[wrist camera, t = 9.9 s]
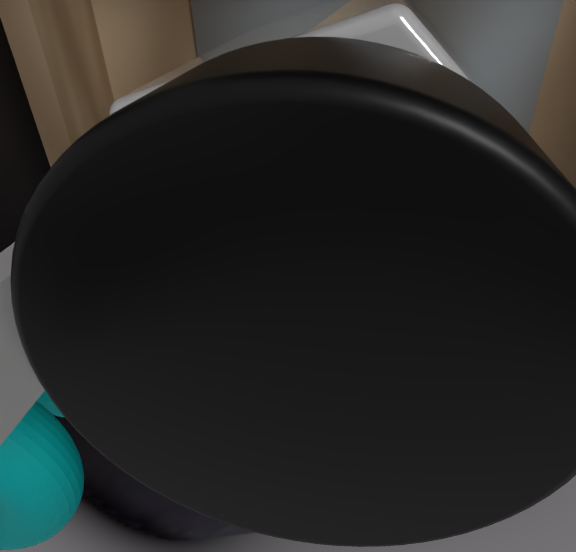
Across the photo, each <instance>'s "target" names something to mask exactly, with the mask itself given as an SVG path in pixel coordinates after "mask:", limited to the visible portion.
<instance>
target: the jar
mask: <svg viewBox="0 0 576 552" xmlns="http://www.w3.org/2000/svg"><path fill="white" fill-rule="evenodd" d="M10 281H11V300H12V307H13V313H14V319H15V324H16V327H17V331H18V334H19V337H20V341H21V344H22V346H23V349H24V351H25V354H26V356H27V358H28V361H29V363H30V365H31V367H32V369H33V371H34V373H35V375H36V376H37V378H38V380H39V382H40V384H41V385H42V387H43V388H44V390H45V391H46V393H47V394H48V396H49V397H50V399H51V400H52V402H53V403H54V404H55V405H56V407H57V408H58V409H59V411H60V412H61V413H62V415H63V416H64V417H65V418H66V419H67V420H68V421H69V422H70V424H71V425H72V426H73V427H74V428H75V429H76V430H77V431H78V432H79V433H80V434H81V435H82V436H83V437H84V438H85V439H86V440H87V441H88V442H89V443H90V444H91V445H92V446H93V447H94V448H95V449H96V450H98V451H99V452H100V453H101V454H102V455H103V456H105V457H106V458H107V459H108V460H109V461H111V462H112V463H113V464H115V465H116V466H117V467H119V468H120V469H121V470H123V471H124V472H125V473H127V474H128V475H130V476H131V477H133V478H134V479H136V480H137V481H139V482H140V483H142V484H143V485H145V486H147V487H148V488H150V489H152V490H154V491H155V492H157V493H159V494H160V495H162V496H164V497H166V498H168V499H170V500H172V501H174V502H176V503H178V504H180V505H182V506H184V507H186V508H189V509H191V510H193V511H195V512H197V513H200V514H202V515H205V516H208V517H210V518H213V519H215V520H218V521H221V522H224V523H227V524H230V525H232V526H235V527H239V528H242V529H246V530H249V531H253V532H256V533H260V534H265V535H269V536H273V537H278V538H283V539H288V540H294V541H300V542H307V543H314V544H324V545H336V546H357V547H361V546H362V547H364V546H391V545H392V546H393V545H405V544H413V543H422V542H428V541H433V540H438V539H444V538H448V537H452V536H456V535H460V534H464V533H468V532H471V531H474V530H477V529H480V528H483V527H486V526H489V525H492V524H494V523H496V522H499V521H502V520H504V519H507V518H509V517H511V516H513V515H515V514H517V513H519V512H522V511H524V510H526V509H528V508H530V507H531V506H533V505H535V504H536V503H538V502H540V501H541V500H543V499H545V498H546V497H548V496H550V495H551V494H552V493H554V492H555V491H556V490H558V489H559V488H560V487H562V486H563V485H565V484H566V483H567V482H568V481H570V480H571V479H572V478H573V477H574V476H575V475H576V188H575V187H574V186H573V185H572V184H571V182H570V181H569V180H568V179H567V178H566V177H565V176H564V174H563V173H562V172H561V171H560V170H559V169H558V167H557V166H556V165H555V164H554V163H553V162H552V160H551V159H550V158H549V157H548V156H547V155H546V154H545V152H544V151H543V150H542V149H541V148H540V147H539V145H538V144H537V143H536V142H535V141H534V140H533V138H532V137H531V136H530V135H529V134H528V133H527V132H526V130H525V129H524V128H523V127H522V126H521V125H520V123H519V122H518V121H517V120H516V119H515V118H514V117H513V116H512V115H511V114H510V113H509V112H508V111H507V110H506V109H505V108H504V107H503V106H502V105H501V104H500V103H499V102H497V101H496V100H495V99H494V98H492V97H491V96H490V95H489V94H487V93H486V92H485V91H484V90H483V89H482V88H481V86H480V85H479V84H478V83H477V82H476V80H475V79H474V78H473V77H472V76H471V74H470V73H469V72H468V71H467V70H466V68H465V67H464V66H463V65H462V64H461V63H460V61H459V60H458V59H457V58H456V57H455V55H454V54H453V53H452V52H451V51H450V49H449V48H448V47H447V46H446V45H445V44H444V42H443V41H442V40H441V39H440V38H439V36H438V35H437V34H436V33H435V32H434V30H433V29H432V28H431V27H430V26H429V24H428V23H427V22H426V21H425V20H424V19H423V17H422V16H421V15H420V14H419V13H418V11H417V10H416V9H415V8H414V7H413V5H412V4H411V3H410V2H409V1H408V0H332V1H329V2H326V3H323V4H321V5H318V6H315V7H312V8H310V9H307V10H304V11H301V12H299V13H296V14H293V15H290V16H288V17H285V18H282V19H279V20H277V21H274V22H271V23H268V24H266V25H263V26H260V27H257V28H255V29H252V30H250V31H248V32H246V33H244V34H242V35H240V36H238V37H236V38H234V39H232V40H230V41H228V42H226V43H225V44H223V45H221V46H219V47H217V48H215V49H213V50H211V51H209V52H207V53H205V54H203V55H201V56H199V57H197V58H196V59H194V60H192V61H190V62H188V63H186V64H184V65H182V66H180V67H178V68H176V69H174V70H172V71H170V72H168V73H166V74H165V75H163V76H161V77H159V78H157V79H155V80H153V81H151V82H149V83H147V84H145V85H143V86H141V87H139V88H137V89H135V90H133V91H131V92H130V93H128V94H126V95H124V96H122V97H120V98H118V99H116V100H115V101H114V102H113V104H112V105H111V107H110V109H109V116H108V117H107V118H105V119H103V120H102V121H100V122H99V123H97V124H96V125H94V126H93V127H92V128H91V129H89V130H88V131H87V132H86V133H84V134H83V135H82V136H81V137H80V138H78V139H77V140H76V141H75V142H74V143H73V144H72V145H71V146H70V147H69V148H68V149H67V150H66V151H65V152H64V153H63V154H62V155H61V156H60V157H59V158H58V159H57V161H56V162H55V163H54V164H53V165H52V167H51V168H50V169H49V171H48V172H47V173H46V175H45V176H44V177H43V179H42V180H41V181H40V183H39V184H38V186H37V188H36V190H35V191H34V193H33V195H32V197H31V199H30V200H29V202H28V204H27V206H26V208H25V211H24V213H23V216H22V219H21V222H20V224H19V227H18V230H17V234H16V239H15V243H14V248H13V252H12V264H11V279H10Z"/></svg>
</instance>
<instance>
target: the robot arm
mask: <svg viewBox="0 0 576 552" xmlns="http://www.w3.org/2000/svg"><path fill="white" fill-rule="evenodd" d="M14 243H15V242H14ZM14 243H13V244H11V245H10V246H9V247H7V248H6V249H5V250H3V251H2V252H1V253H0V445H1V444H2V443H3V442H4V440H5V439H6V438H7V437H8V436H9V434H10V433H11V432H12V431H13V429H14V428H15V427H16V426H17V424H18V423H19V422H20V421H21V419H22V418H23V417H24V416H25V414H26V413H27V412H28V411H29V409H30V408H31V407H32V406H33V404H34V403H35V402H36V401H37V399H38V398H39V397H40V396H41V394H42V393H43V392H44V391H45V390H44V388H43V387H42V385H41V384H40V382H39V380H38V378H37V376H36V375H35V373H34V371H33V369H32V367H31V365H30V363H29V361H28V358H27V356H26V354H25V351H24V349H23V346H22V344H21V341H20V337H19V334H18V331H17V327H16V324H15V319H14V313H13V307H12V300H11V281H10V279H11V264H12V252H13V248H14Z"/></svg>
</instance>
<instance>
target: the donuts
mask: <svg viewBox="0 0 576 552" xmlns="http://www.w3.org/2000/svg"><path fill="white" fill-rule="evenodd" d="M54 415H55V416H60V417H64V416H63V415H62V413H61V412H60V411H59V409H58V408H57V407H56V405H55V404H54V403H53V402H52V400H51V399H50V397H49V396H48V394H47V393H46V391H44V392H43V393H42V394H41V396H40V397H39V398H38V399H37V401H36V402H35V403H34V404H33V406H32V407H31V408H30V409H29V411H28V412H27V413H26V414H25V416H24V417H23V418H22V419H21V421H20V422H19V423H18V424H17V426H16V427H15V428H14V429H13V431H12V432H11V433H10V434H9V436H8V437H7V438H6V439H5V440H4V442H3V443H2V444H1V445H0V550H12V549H21V548H26V547H30V546H33V545H36V544H38V543H41V542H43V541H45V540H48V539H49V538H51V537H52V536H54V535H55V534H56V533H58V532H59V531H60V530H61V529H62V528H63V527H64V526H65V525H66V524H67V523H68V522H69V521H70V519H71V518H72V517H73V515H74V513H75V512H76V510H77V508H78V506H79V503H80V500H81V497H82V494H83V486H84V473H83V466H82V461H81V458H80V455H79V452H78V450H77V448H76V446H75V444H74V442H73V440H72V438H71V436H70V435H69V433H68V432H67V430H66V429H65V428H64V426H63V425H62V424H61V423H60V422H59V421H58V420H57V419H56V417H55V416H54Z"/></svg>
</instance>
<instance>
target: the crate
mask: <svg viewBox="0 0 576 552" xmlns="http://www.w3.org/2000/svg"><path fill="white" fill-rule="evenodd" d="M329 1H332V0H0V18H1V21H2V24H3V27H4V30H5V33H6V36H7V39H8V42H9V45H10V48H11V51H12V54H13V57H14V60H15V62H16V65H17V68H18V71H19V74H20V77H21V80H22V83H23V86H24V89H25V92H26V95H27V98H28V101H29V104H30V107H31V110H32V113H33V116H34V119H35V122H36V125H37V128H38V131H39V134H40V137H41V140H42V143H43V146H44V149H45V152H46V155H47V158H48V161H49V164H50V167H52V165H53V164H54V163H55V162H56V161H57V159H58V158H59V157H60V156H61V155H62V154H63V153H64V152H65V151H66V150H67V149H68V148H69V147H70V146H71V145H72V144H73V143H74V142H75V141H76V140H77V139H78V138H80V137H81V136H82V135H83V134H84V133H86V132H87V131H88V130H89V129H91V128H92V127H93V126H94V125H96V124H97V123H99V122H100V121H102V120H103V119H105V118H107V117H108V116H109V109H110V107H111V105H112V104H113V102H114V101H115V100H116V99H118V98H120V97H122V96H124V95H126V94H128V93H130V92H131V91H133V90H135V89H137V88H139V87H141V86H143V85H145V84H147V83H149V82H151V81H153V80H155V79H157V78H159V77H161V76H163V75H165V74H166V73H168V72H170V71H172V70H174V69H176V68H178V67H180V66H182V65H184V64H186V63H188V62H190V61H192V60H194V59H196V58H197V57H199V56H201V55H203V54H205V53H207V52H209V51H211V50H213V49H215V48H217V47H219V46H221V45H223V44H225V43H226V42H228V41H230V40H232V39H234V38H236V37H238V36H240V35H242V34H244V33H246V32H248V31H250V30H252V29H255V28H257V27H260V26H263V25H266V24H268V23H271V22H274V21H277V20H279V19H282V18H285V17H288V16H290V15H293V14H296V13H299V12H301V11H304V10H307V9H310V8H312V7H315V6H318V5H321V4H323V3H326V2H329ZM408 1H409V2H410V3H411V4H412V5H413V7H414V8H415V9H416V10H417V11H418V13H419V14H420V15H421V16H422V17H423V19H424V20H425V21H426V22H427V23H428V24H429V26H430V27H431V28H432V29H433V30H434V32H435V33H436V34H437V35H438V36H439V38H440V39H441V40H442V41H443V42H444V44H445V45H446V46H447V47H448V48H449V49H450V51H451V52H452V53H453V54H454V55H455V57H456V58H457V59H458V60H459V61H460V63H461V64H462V65H463V66H464V67H465V68H466V70H467V71H468V72H469V73H470V74H471V76H472V77H473V78H474V79H475V80H476V82H477V83H478V84H479V85H480V86H481V88H482V89H483V90H484V91H485V92H486V93H487V94H489V95H490V96H491V97H492V98H494V99H495V100H496V101H497V102H499V103H500V104H501V105H502V106H503V107H504V108H505V109H506V110H507V111H508V112H509V113H510V114H511V115H512V116H513V117H514V118H515V119H516V120H517V121H518V122H519V123H520V125H521V126H522V127H523V128H524V129H525V130H526V132H527V133H528V134H529V135H530V136H531V137H532V138H533V140H534V141H535V142H536V143H537V144H538V145H539V147H540V148H541V149H542V150H543V151H544V152H545V154H546V155H547V156H548V157H549V158H550V159H551V160H552V162H553V163H554V164H555V165H556V166H557V167H558V169H559V170H560V171H561V172H562V173H563V174H564V176H565V177H566V178H567V179H568V180H569V181H570V182H571V184H572V185H573V186H574V187H575V188H576V0H408Z"/></svg>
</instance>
